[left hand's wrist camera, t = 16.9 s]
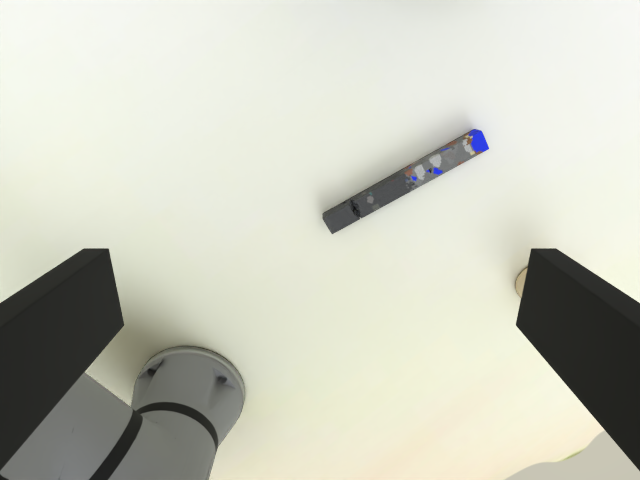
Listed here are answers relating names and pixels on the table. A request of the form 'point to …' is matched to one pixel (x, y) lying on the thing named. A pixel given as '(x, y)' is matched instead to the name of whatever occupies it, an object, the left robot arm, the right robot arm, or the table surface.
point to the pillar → (406, 180)
